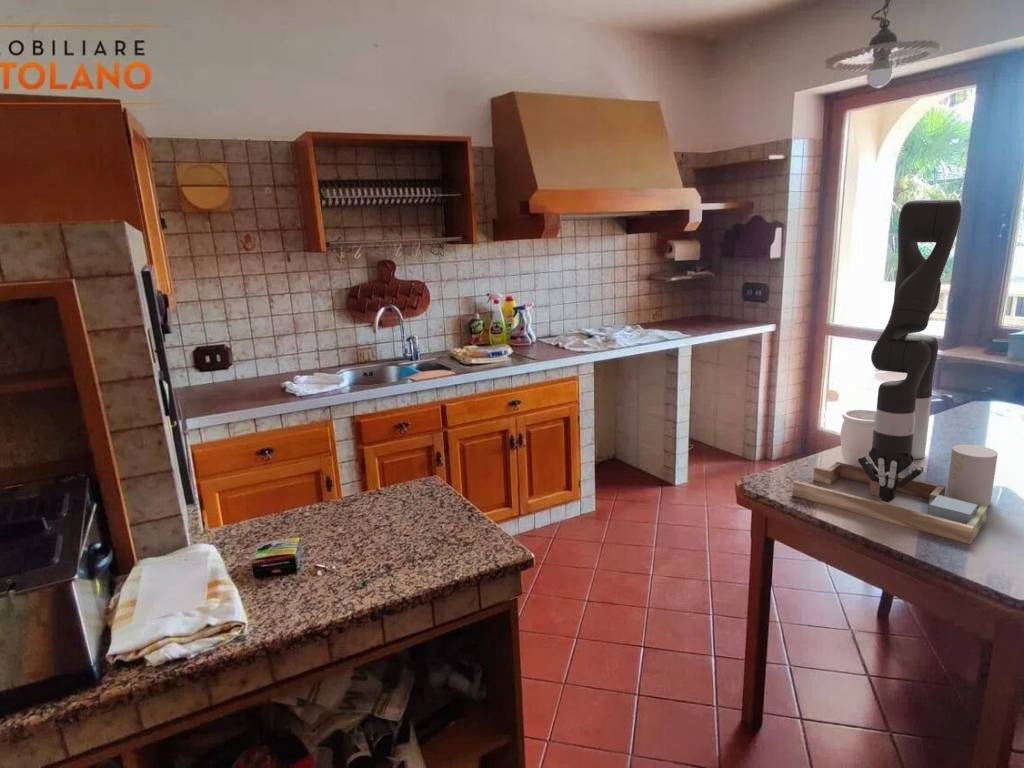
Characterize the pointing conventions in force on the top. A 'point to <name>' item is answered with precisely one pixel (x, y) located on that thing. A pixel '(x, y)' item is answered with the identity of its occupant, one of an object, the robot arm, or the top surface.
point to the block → (952, 509)
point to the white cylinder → (972, 473)
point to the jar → (857, 435)
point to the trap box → (887, 511)
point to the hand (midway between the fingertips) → (886, 500)
